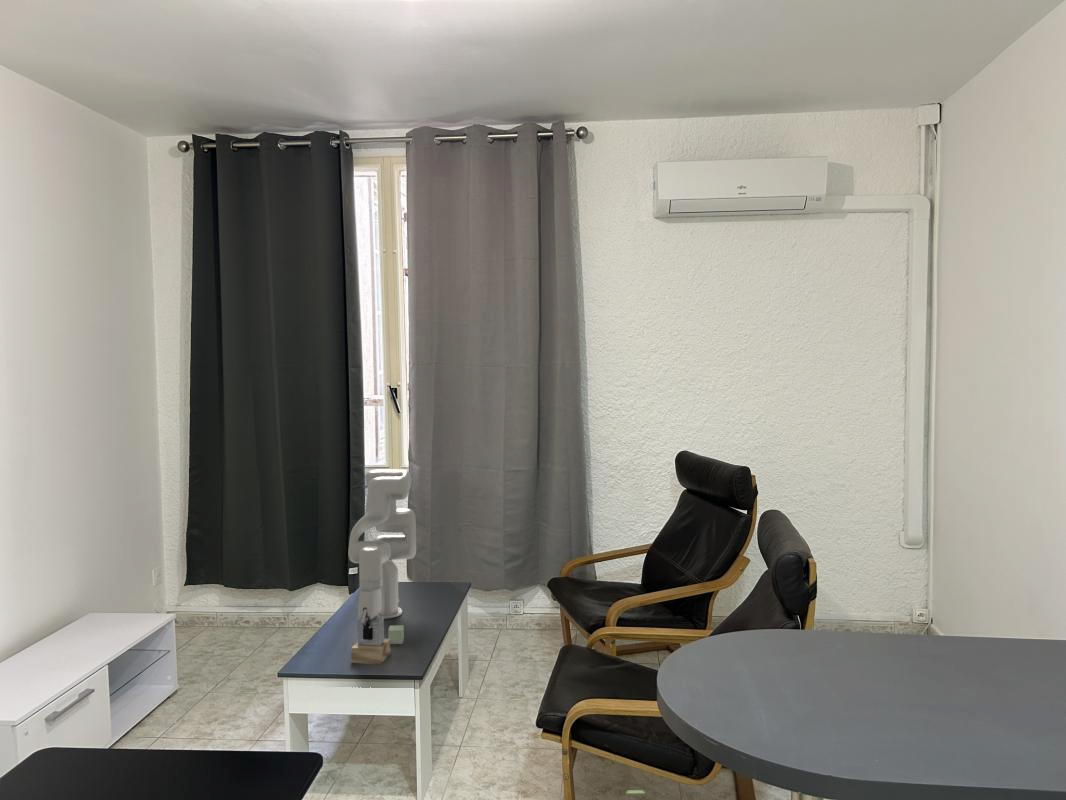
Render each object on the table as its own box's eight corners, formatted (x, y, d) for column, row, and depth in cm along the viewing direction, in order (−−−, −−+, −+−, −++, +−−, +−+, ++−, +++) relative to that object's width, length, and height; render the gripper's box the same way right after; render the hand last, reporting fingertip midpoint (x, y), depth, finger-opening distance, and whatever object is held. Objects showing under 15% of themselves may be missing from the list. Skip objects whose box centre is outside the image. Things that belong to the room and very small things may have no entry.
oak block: (363, 651, 259) (363, 637, 259) (390, 653, 258) (390, 639, 258) (351, 662, 250) (351, 647, 249) (379, 664, 248) (379, 650, 248)
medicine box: (384, 641, 255) (384, 616, 254) (379, 646, 251) (379, 621, 250) (362, 639, 256) (362, 615, 256) (357, 645, 252) (357, 619, 251)
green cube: (389, 639, 271) (389, 625, 271) (403, 638, 272) (403, 625, 271) (388, 644, 266) (388, 630, 266) (402, 644, 267) (402, 630, 266)
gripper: (370, 575, 261) (370, 626, 262) (350, 590, 245) (350, 644, 246) (390, 576, 260) (390, 628, 261) (371, 591, 243) (372, 646, 244)
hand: (371, 635), depth 253 cm, fingers open, 5 cm apart
